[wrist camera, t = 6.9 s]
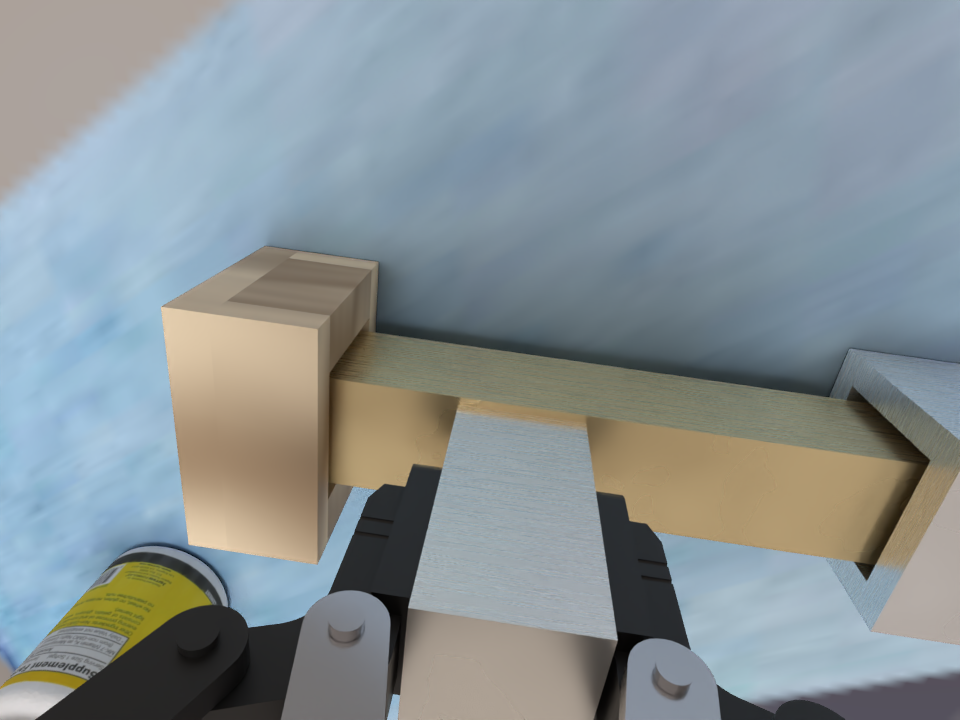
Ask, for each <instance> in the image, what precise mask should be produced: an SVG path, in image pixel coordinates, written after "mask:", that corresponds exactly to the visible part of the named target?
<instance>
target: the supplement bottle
mask: <svg viewBox="0 0 960 720" xmlns="http://www.w3.org/2000/svg"><path fill="white" fill-rule="evenodd" d="M204 605H220V606H225V607H228V602H227V597H226V593H225V590H224V588H223V586H222V584H221V582H220V580H219V579H218V577H217V576H216V575H215V573H214V572H213V571H212V570H211V569H210V568H209V567H208V566H207V565H206V564H204V563H203V562H202V561H200V560H199V559H197V558H195V557H193V556H192V555H190V554H187V553H185V552H183V551H180V550H176V549H173V548H168V547H160V546H146V547H139V548H135V549H132V550H129V551H127V552H125V553H123V554H122V555H121V556H119V557H118V558H117V559H116V560H115V561H114V562H113V563H112V564H111V565H110V566H109V567H108V569H106V570H105V571H104V573H103V574H102V575H101V576H100V577H99V578H98V579H97V581H96V582H95V583H94V584H93V585H92V586H91V587H90V588H89V589H88V590H87V591H86V593H85V594H84V595H83V596H82V597H81V598H80V599H79V600H78V601H77V603H76V604H75V605H74V606H73V607H72V608H71V609H70V611H69V612H68V613H67V614H66V615H65V616H64V617H63V618H62V619H61V621H60V622H59V623H58V624H57V625H56V626H55V627H54V628H53V629H52V631H51V632H50V633H49V634H48V635H47V636H46V637H45V638H44V639H43V641H42V642H41V643H40V644H39V645H38V646H37V647H36V648H35V650H34V651H33V652H32V653H31V654H30V655H29V656H28V657H27V658H26V660H25V661H24V662H23V663H22V664H21V665H20V666H19V667H18V668H17V670H16V671H15V672H14V673H13V674H12V675H11V676H10V678H9V679H8V680H7V681H6V682H5V683H4V684H3V685H2V686H1V688H0V720H35V719H37V718H38V717H39V716H41V715H42V714H43V713H45V712H46V711H47V710H49V709H50V708H51V707H53V706H54V705H55V704H57V703H58V702H59V701H61V700H62V699H63V698H65V697H66V696H67V695H69V694H70V693H71V692H73V691H74V690H75V689H77V688H78V687H79V686H81V685H82V684H83V683H85V682H86V681H87V680H89V679H90V678H91V677H93V676H94V675H96V674H97V673H98V672H100V671H101V670H102V669H104V668H105V667H106V666H108V665H109V664H110V663H112V662H113V661H114V660H116V659H117V658H118V657H120V656H121V655H122V654H124V653H125V652H126V651H128V650H129V649H130V648H132V647H133V646H134V645H136V644H137V643H138V642H140V641H141V640H142V639H144V638H145V637H146V636H148V635H149V634H150V633H152V632H153V631H154V630H156V629H157V628H158V627H160V626H161V625H162V624H164V623H165V622H166V621H168V620H169V619H171V618H172V617H174V616H175V615H177V614H179V613H181V612H183V611H186V610H188V609H191V608H194V607H198V606H204Z"/></svg>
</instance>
